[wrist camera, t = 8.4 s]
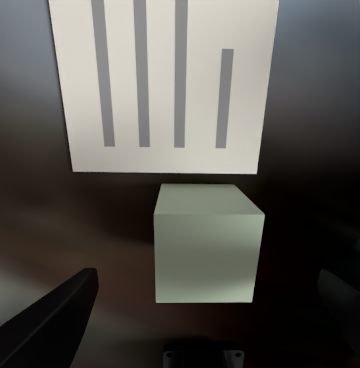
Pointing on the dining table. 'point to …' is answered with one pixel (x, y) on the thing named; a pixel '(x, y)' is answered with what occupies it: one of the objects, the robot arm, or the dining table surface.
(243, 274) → the green cube
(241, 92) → the letter
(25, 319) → the robot arm
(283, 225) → the dining table surface
